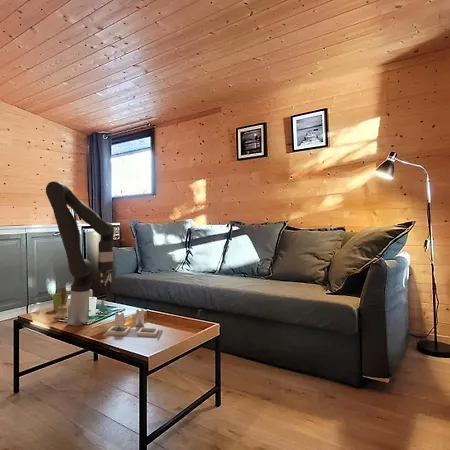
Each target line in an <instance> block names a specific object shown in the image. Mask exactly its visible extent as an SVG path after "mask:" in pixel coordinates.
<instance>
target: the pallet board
mask: <svg viewBox="0 0 450 450" xmlns="http://www.w3.org/2000/svg"><path fill="white" fill-rule="evenodd" d="M114 330H115V325H114V326H113V325H112V326H111V327H110V328H109V329H107V330H106V331H105V332H103V334H102V335H101V337H114V338H115V337H119V338H139V339H140V338H142V339H157V341H159V340H160V338H161V336H162V334H163V333H164V332H163V331H164V330H163V329H160V328H157V327H141V328H131V326H123V332H122V331H114Z"/></svg>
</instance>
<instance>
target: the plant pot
mask: <svg viewBox="0 0 450 450" xmlns="http://www.w3.org/2000/svg"><path fill="white" fill-rule="evenodd" d="M51 297H52V298H51V299H52V306H53V310H54V311H56V312H57V310H58V307H59V306H61V293H56V294H52V295H51ZM69 297H70V295H69V294H68V293H66V296H65V300H64V306H66V307H67V302H68V298H69Z"/></svg>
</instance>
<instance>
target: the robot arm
mask: <svg viewBox="0 0 450 450" xmlns="http://www.w3.org/2000/svg"><path fill="white" fill-rule="evenodd" d="M45 194H46V197H47V199H48V201H49V203H50V206H51V208H52V211H53V215H54V218H55V221H56V224H57V228H58V232H59V235H60V238H61V240H62V244H63V248H64V251H65V254H66V257H67V258H66V259H67V263H68V264H67V265H68V269H69V272H70V274H71V276H72V277H73V282H72V283H71V286H70V295H69V297H70V299H69V300H70V301H69V305H68V306H67V312H68V318H67V325H69V326H75V327H76V326H79V327H80V326H84V325H83V324H84V323H86V322H87V321H88V322H89V312H90V311H89V310H90V309H89V297H90V289H91V286H92V284H93V283H92V282H93V281H92V280H93V272H94V271H93V264H92V261H90V260H89V259H86V258H84V256H83V253H82V250H81V232H80V229H79V226H78V222H77V220H76V218H75V217H74V215H73V214H72V212H71V210H73V212H74V213H75V214H76V215H77V216H78V218H79V219H81V220H83V221H84V222H85V223H86V224H87V225H88V226H90V227H91V228H92V229H93V231H94V232H95V233H96V234H98V235H99V236H100V240H99V241H98V245H97V246H98V247H97V248H98V253H97V267H98V268H97V270H98V271H101V272H100V273H99V274H98V276H99V277H98V285H99V286H100V293H101V294H106V292H107V291H111V290H112V282H113V270H114V254H113V253H114V252H113V249H114V247H113V241H114V234H115V228H114V225H113V224H112V223H110V222H109V221H108V222H106V221H105V220H103V218H101V217H100V215H99V214H98V213H97V212H96V211H95V210H93V209H92V208H90V206H88V205H87V204H86V203H84V202H83V201H82V200H81V199H79V197H77V196H76V195H75V194H74V192H73V191H72V190H71V189H70V188H69V187H68V186H67V185H66V184H65V183H63V182H59V181H55V180H54V181H50V182H48V183H47V184H46V187H45ZM69 208H71V210H70V209H69Z"/></svg>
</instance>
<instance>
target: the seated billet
mask: <svg viewBox="0 0 450 450" xmlns="http://www.w3.org/2000/svg"><path fill="white" fill-rule="evenodd" d="M114 316H115V318H114V326H115V330H114V331H122V332H123V327H124V324H125V323H124V322H125V320H124V319H125V313H124V312H122V311H121V312H118V313H115V315H114Z"/></svg>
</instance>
